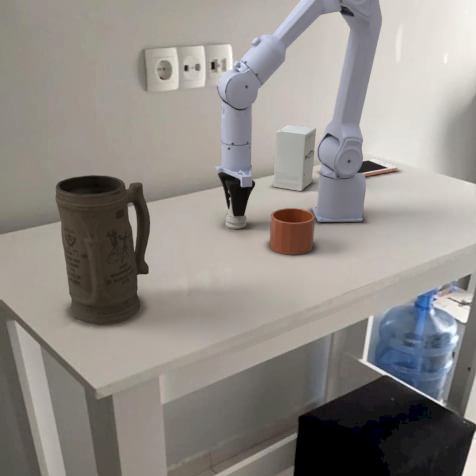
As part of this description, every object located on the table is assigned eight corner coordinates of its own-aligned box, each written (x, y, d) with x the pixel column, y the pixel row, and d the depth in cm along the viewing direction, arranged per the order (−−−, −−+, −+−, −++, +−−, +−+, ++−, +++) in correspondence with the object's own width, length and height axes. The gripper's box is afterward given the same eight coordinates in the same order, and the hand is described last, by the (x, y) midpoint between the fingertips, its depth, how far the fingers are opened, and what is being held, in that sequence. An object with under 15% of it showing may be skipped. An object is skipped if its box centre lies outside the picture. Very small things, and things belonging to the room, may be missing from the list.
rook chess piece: (234, 231, 127) (235, 191, 122) (220, 225, 129) (220, 185, 125) (251, 226, 129) (252, 186, 124) (236, 220, 132) (237, 181, 127)
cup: (309, 237, 124) (311, 207, 121) (315, 254, 118) (318, 223, 114) (268, 238, 124) (269, 208, 120) (272, 255, 117) (273, 223, 114)
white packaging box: (302, 191, 147) (305, 134, 139) (272, 187, 149) (274, 130, 142) (312, 183, 152) (317, 127, 145) (284, 178, 155) (287, 123, 147)
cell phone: (397, 170, 160) (398, 167, 160) (341, 181, 153) (341, 177, 152) (375, 162, 167) (375, 158, 166) (319, 171, 159) (319, 168, 159)
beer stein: (105, 333, 93) (95, 196, 83) (53, 314, 98) (37, 182, 87) (168, 300, 105) (167, 175, 94) (119, 284, 109) (112, 163, 98)
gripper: (206, 133, 124) (208, 202, 132) (226, 153, 113) (226, 226, 121) (241, 131, 126) (240, 199, 134) (263, 150, 115) (261, 223, 123)
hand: (236, 212), depth 128 cm, fingers closed on rook chess piece, 3 cm apart
